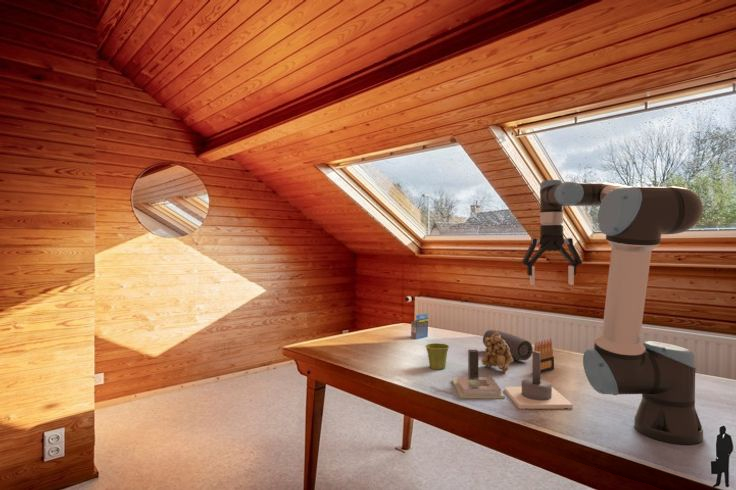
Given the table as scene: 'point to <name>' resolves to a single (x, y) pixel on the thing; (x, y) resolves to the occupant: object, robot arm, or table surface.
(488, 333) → the bluetooth speaker
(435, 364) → the plant pot
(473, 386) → the pink square frame
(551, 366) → the ammunition clip
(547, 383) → the stand
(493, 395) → the mat
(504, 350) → the mineral formation
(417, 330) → the label tape box
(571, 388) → the table surface
